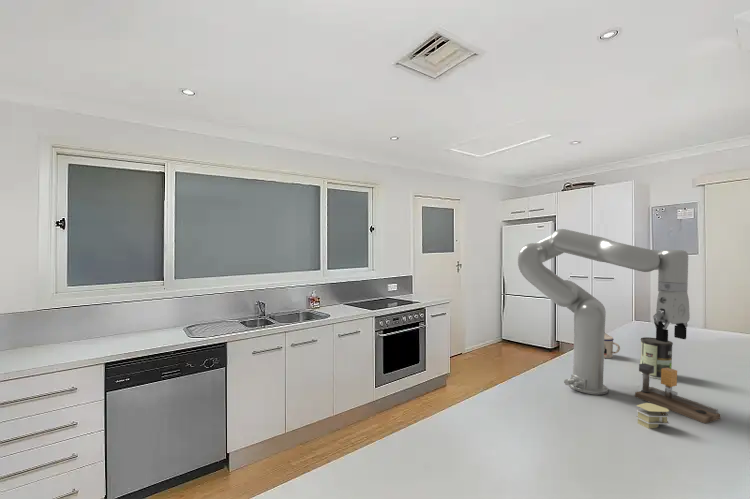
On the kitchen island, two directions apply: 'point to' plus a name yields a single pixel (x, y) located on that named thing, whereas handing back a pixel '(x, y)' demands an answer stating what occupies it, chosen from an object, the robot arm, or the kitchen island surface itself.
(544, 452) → the kitchen island surface
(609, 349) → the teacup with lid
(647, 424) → the stacked layers on plate
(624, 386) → the kitchen island surface
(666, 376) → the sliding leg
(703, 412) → the brown wooden stand
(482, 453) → the kitchen island surface
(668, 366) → the coffee can
